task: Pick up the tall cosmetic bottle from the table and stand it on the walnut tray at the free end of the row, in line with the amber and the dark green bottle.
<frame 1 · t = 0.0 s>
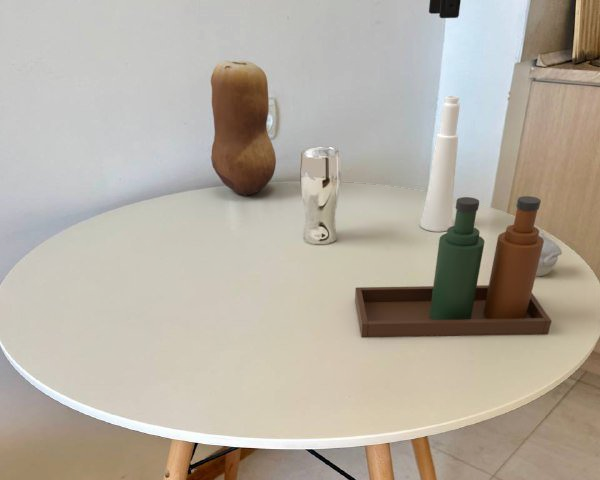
hand: (443, 15, 104), 32 cm above the table, tool pointing down, fingers open, 9 cm apart
amber bottle: (504, 315, 82), resting on tray
green bottle: (450, 316, 82), resting on tray
tray: (445, 321, 82), on the table
butternut squash: (245, 192, 129), on the table
frog figurine: (531, 276, 94), on the table
beer glass: (320, 239, 107), on the table
cosmetic bottle: (436, 227, 111), on the table
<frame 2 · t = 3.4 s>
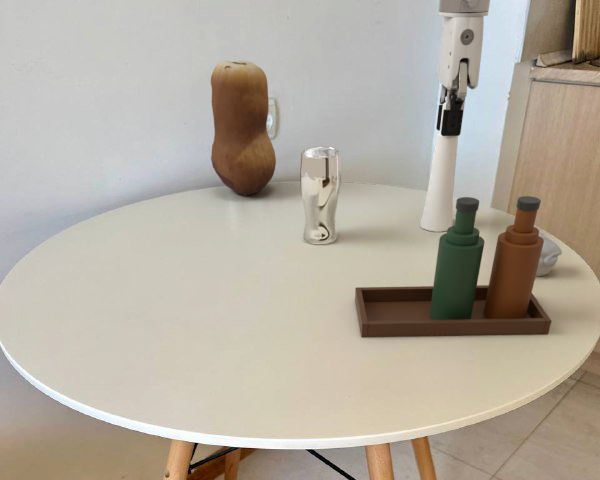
hand: (448, 131, 101), 17 cm above the table, tool pointing down, fingers closed on cosmetic bottle, 3 cm apart
cosmetic bottle: (435, 227, 111), on the table, touching gripper
everything else where it was.
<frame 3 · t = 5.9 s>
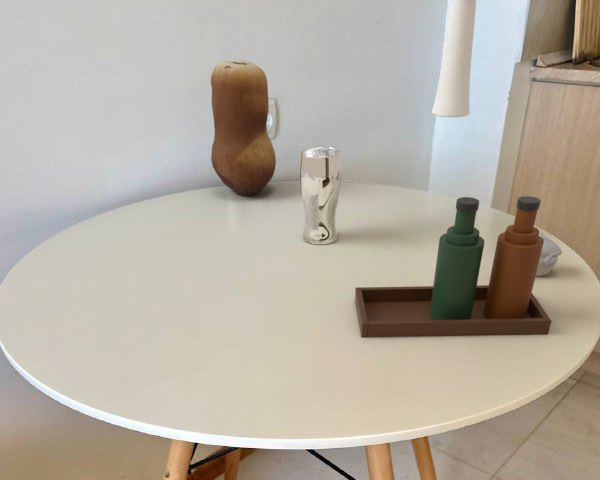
cosmetic bottle: (450, 115, 97), point 20 cm above the table, touching gripper
everything else where it was.
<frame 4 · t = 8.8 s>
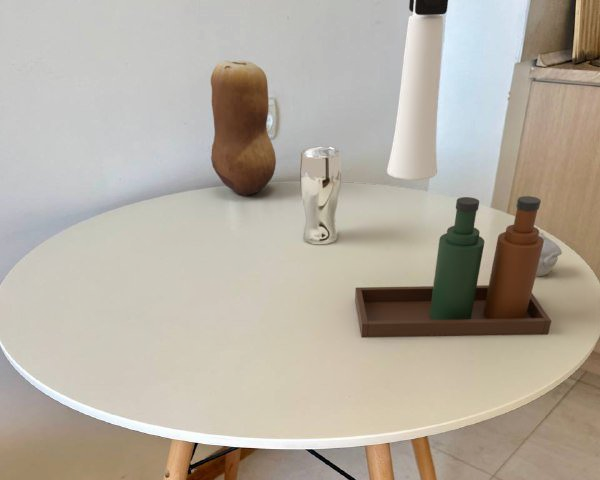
hand: (427, 10, 62), 36 cm above the table, tool pointing down, fingers closed on cosmetic bottle, 3 cm apart
cosmetic bottle: (411, 174, 72), point 19 cm above the table, touching gripper
everything else where it was.
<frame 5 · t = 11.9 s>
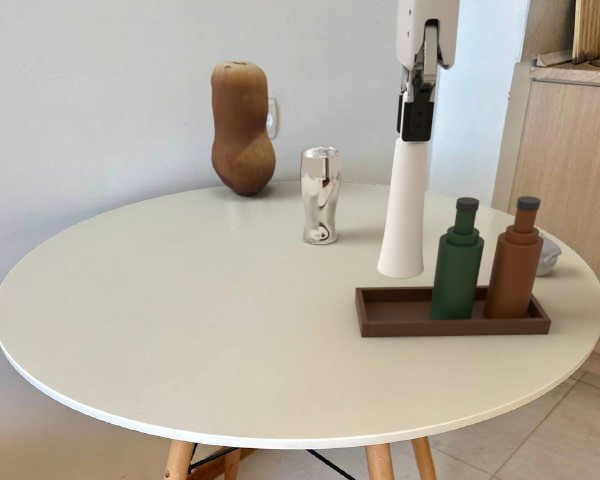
hand: (413, 135, 68), 24 cm above the table, tool pointing down, fingers closed on cosmetic bottle, 3 cm apart
cosmetic bottle: (400, 271, 78), point 8 cm above the table, touching gripper
everything else where it was.
when the fingers open (17 cm above the table, at t = 14.1 s): cosmetic bottle stays where it is, resting on tray.
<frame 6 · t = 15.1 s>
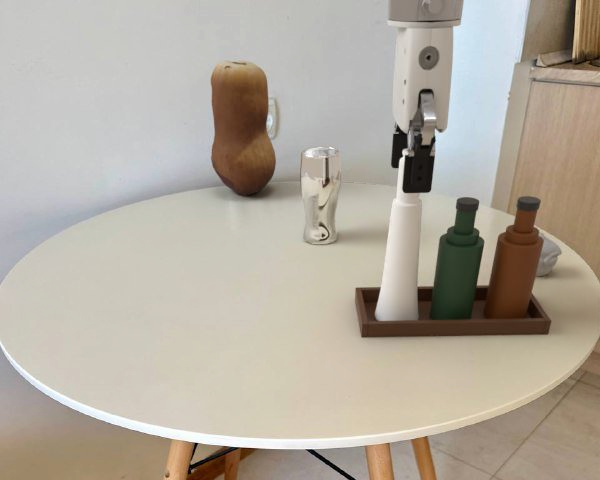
hand: (409, 179, 71), 19 cm above the table, tool pointing down, fingers open, 9 cm apart
cosmetic bottle: (396, 318, 82), point 1 cm above the table, touching tray
everything else where it was.
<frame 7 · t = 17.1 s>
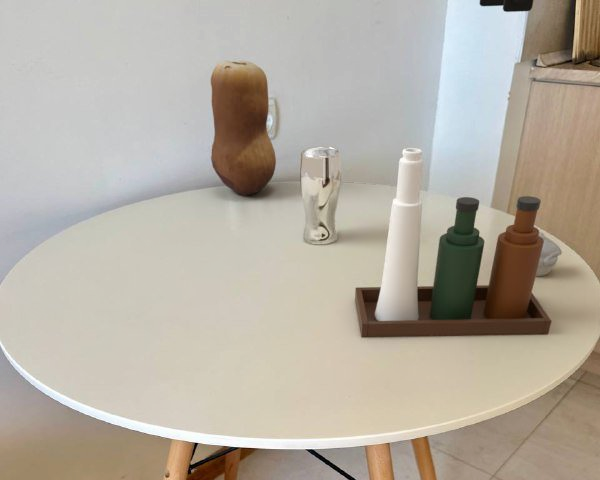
hand: (503, 8, 71), 36 cm above the table, tool pointing down, fingers open, 9 cm apart
nothing on the table moved.
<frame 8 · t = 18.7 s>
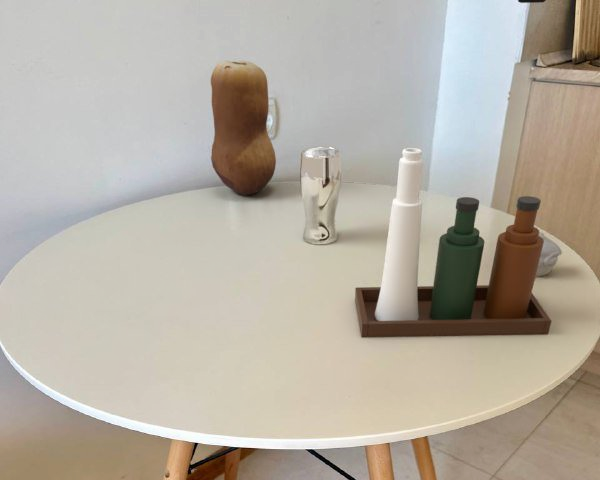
nothing on the table moved.
at the end: cosmetic bottle 0.2 cm from the target spot in the tray, point 0.6 cm above the tray's base; cosmetic bottle tilted 0°; the gripper is holding nothing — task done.
